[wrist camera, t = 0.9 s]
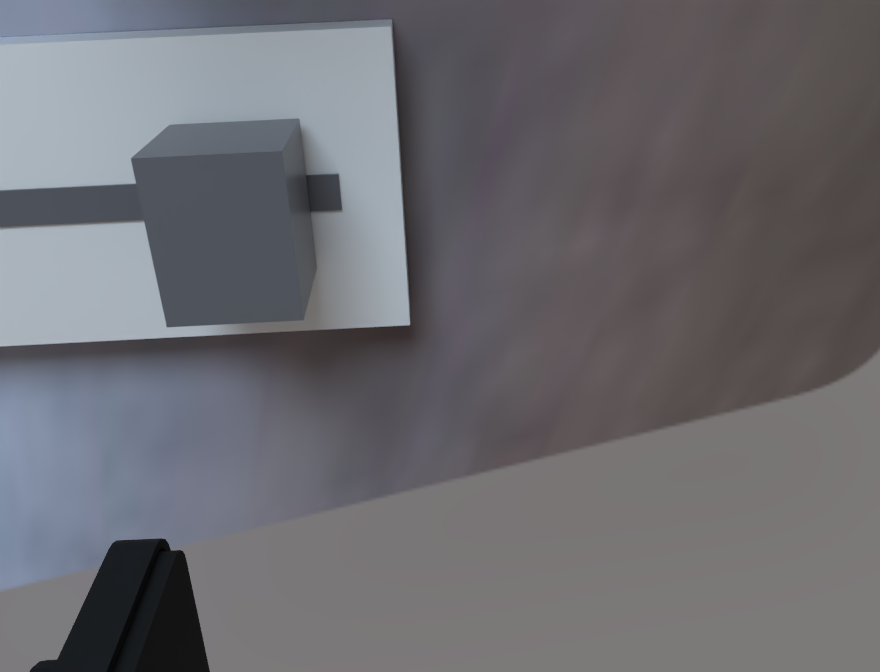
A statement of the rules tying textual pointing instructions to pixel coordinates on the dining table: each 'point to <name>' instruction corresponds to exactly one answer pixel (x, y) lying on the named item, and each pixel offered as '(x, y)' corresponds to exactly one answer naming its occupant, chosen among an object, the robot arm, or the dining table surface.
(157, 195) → the fader knob
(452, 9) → the dining table surface
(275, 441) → the dining table surface
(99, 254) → the console
